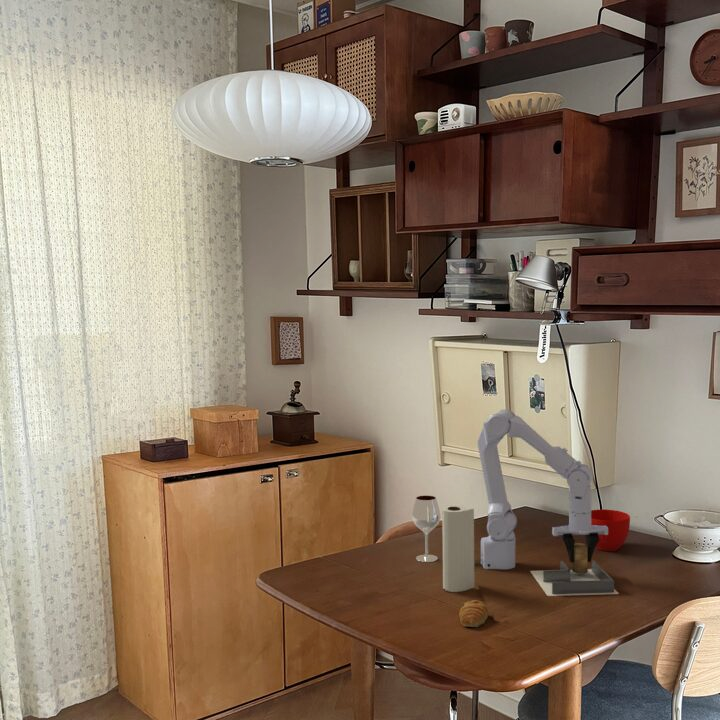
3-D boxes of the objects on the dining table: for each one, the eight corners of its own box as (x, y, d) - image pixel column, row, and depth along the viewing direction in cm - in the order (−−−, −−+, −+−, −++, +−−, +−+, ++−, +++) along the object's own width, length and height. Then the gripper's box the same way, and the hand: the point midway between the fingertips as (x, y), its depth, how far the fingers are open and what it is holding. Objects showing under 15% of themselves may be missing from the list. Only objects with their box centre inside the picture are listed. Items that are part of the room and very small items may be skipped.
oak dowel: (574, 573, 215) (574, 547, 215) (570, 568, 219) (570, 543, 219) (589, 573, 216) (589, 547, 215) (585, 568, 220) (585, 542, 219)
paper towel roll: (438, 589, 211) (437, 508, 209) (450, 583, 216) (449, 503, 214) (462, 595, 207) (462, 513, 205) (474, 588, 212) (473, 507, 210)
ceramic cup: (580, 556, 236) (580, 522, 235) (587, 539, 252) (587, 507, 251) (627, 560, 231) (627, 526, 231) (631, 543, 247) (631, 511, 246)
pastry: (484, 631, 185) (484, 614, 185) (455, 628, 187) (454, 612, 187) (489, 615, 194) (489, 600, 194) (461, 613, 196) (461, 597, 196)
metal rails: (552, 594, 204) (552, 582, 204) (536, 572, 220) (536, 561, 220) (614, 592, 204) (614, 580, 204) (594, 571, 220) (594, 560, 220)
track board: (547, 599, 203) (547, 595, 203) (530, 574, 221) (530, 570, 221) (618, 597, 203) (618, 593, 203) (595, 572, 222) (595, 568, 222)
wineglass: (446, 559, 235) (446, 498, 234) (424, 565, 230) (423, 502, 229) (428, 552, 242) (428, 493, 240) (407, 558, 237) (406, 497, 236)
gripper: (557, 515, 212) (557, 566, 213) (612, 514, 212) (611, 565, 214) (550, 508, 219) (550, 558, 220) (603, 507, 220) (603, 556, 221)
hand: (579, 561), depth 217 cm, fingers closed on oak dowel, 4 cm apart
